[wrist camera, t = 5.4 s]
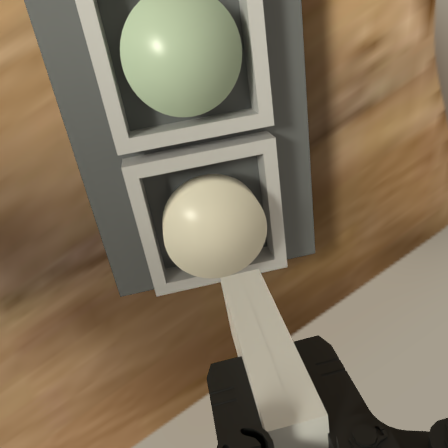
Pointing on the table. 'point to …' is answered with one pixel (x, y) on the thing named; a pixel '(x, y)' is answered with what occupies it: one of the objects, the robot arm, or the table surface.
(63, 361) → the table surface
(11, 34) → the table surface
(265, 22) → the button panel
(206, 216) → the cream button
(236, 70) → the sage button
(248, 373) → the robot arm
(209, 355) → the table surface
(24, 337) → the table surface
